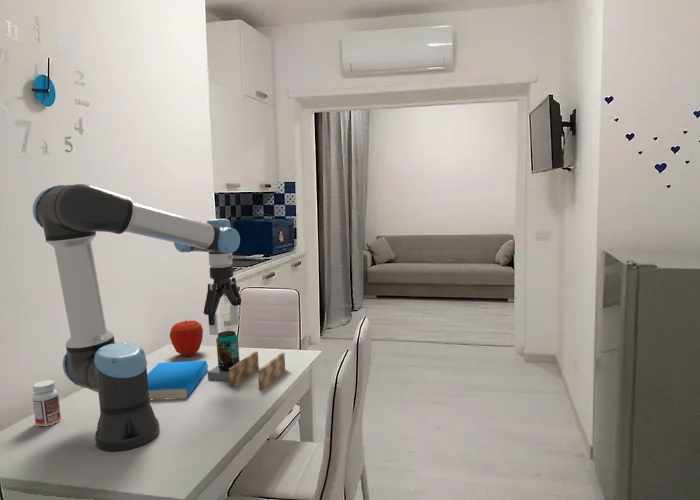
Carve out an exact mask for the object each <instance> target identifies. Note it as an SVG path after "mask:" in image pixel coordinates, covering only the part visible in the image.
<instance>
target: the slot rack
mask: <svg viewBox="0 0 700 500" xmlns="http://www.w3.org/2000/svg"><path fill="white" fill-rule="evenodd" d="M285 357H286V356H285V352H280V353H279V354H278V355H276V356H275V357H274V358H272V359H271V360H270V361H268V362H267V363H266V364H264V365H263V366H262V367H260V365H259V352H258V350H257V351H256V350H255V351H252V352H251V353H250V354H249V355H247V356H246V357H244V358H243V359H241V360H240V362H238V363H237V364H235V365H234V366H232V367H231V368H229V377H230V381H229V385H230V386H229V387H230V388H234V387H236V386H237V385H238V384H239V382H240V383H241V382H242V381H244V380H245V379H246V378H248V377H249V376H250V375H252V374H253V373H254V372H255V371H257V379H258V389H259V390H263V389H264V388H266V387H267V386H268V385H269V384H270V383H272V382H273V381H274V380H275V379H276V378H277V377H279V375H281V374H282V373H283V372H285V371H286V360H285V359H286V358H285ZM236 384H237V385H236ZM235 385H236V386H235Z"/></svg>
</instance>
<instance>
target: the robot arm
mask: <svg viewBox="0 0 700 500" xmlns="http://www.w3.org/2000/svg"><path fill="white" fill-rule="evenodd" d="M32 205H33V206H32V215H33V218H34V220H35V221H36V223H37V224H38V225H39V226H40V227H41V228H42V229H43V233H44V236H45V237H44V238H45V242H46V243H47V244H49V245H50V246H52V247H53V248H54V254H55V258H56V260H55V261H56V264H57V270H58V274H59V275H58V276H59V280H60V281H59V282H60V286H61V290H62V296H63V301H64V307H65V312H66V318H67V323H68V329H69V333H70V337H69V338H68V340H67V341H66V343H65V348H66V353H65V354H64V355H63V357H62V358H63V359H62V369H63V373H64V376H65V377H66V378H67V379H68V380H69V381H70V382H72V383H73V384H74V385H76V386H79V387H81V388H84V389H88V390H90V391H92V392H95V393H98V402H99V412H100V413H99V418H98V422H97V428H96V432H95V435H94V439H95V440H94V441H95V445H96V447H97V448H98V449H99V450H102V451H107V452H119V451H120V452H121V451H126V450H131V449H134V448H135V449H136V448H138V447H141V446H143V445H146V444H148V443H150V442H151V441H153V440H154V439H156V438H157V437H158V436H159V434H160V431H161V430H160V422H159V419H158V418H157V416H156V415H155V412H154V410H153V407H152V405H151V402H150V401H151V400H149V388H148V377H147V374H148V369H147V365H148V361H147V358H146V353H145V350H144V348H142V347H141V346H140V345H139V344H135V343H131V342H127V343H125V342H116V341H115V335H114V333H113V332H111V331H110V330H109V329H107V326H106V320H105V314H104V309H103V303H102V302H103V301H102V298H101V293H100V291H101V290H100V286H99V281H98V274H97V269H96V264H95V256H94V253H93V246H92V241H93V240H94V239H95V238H96V236H97V232H104V233H106V232H107V233H110V234H111V233H112V234H116V235H122V234H123V233H125V232H127V233H129V234H135V235H139V236H144V237H148V238H153V239H157V240H161V241H162V240H163V241H166V242H170V243H171V242H172V243H173V245H174V247H175V249H176V250H177V251H178V252H180V253H191V252H192V253H193V252H201V253H202V252H203V253H208V266H210V267H209V277H210V279H212V280H213V283H207V292H206V296H205V297H206V298H205V301H204V302H205V303H204V308H203V315H205V316H207V319H208V328H209V329H208V331H209V335H212V336H218V333H219V324H218V323H219V322H218V314H217V310H218V307H219V304H220V301H221V298H222V297H223V296H224V295H225V296H226V298H227V300H228V302H229V303H230V305H229V313H230V315H229V316H230V317H229V318H230V325H231V326H234V325H239V324H240V322H239V306H241V305H242V297H241V295H240V291H239V288H238V285H237V282H236V277H234V266H232V265H233V259H234V256H233V253H235V252H236V251H237V250H238V249H239V247H240V243H241V237H240V233H239V231H238V230H237V229H235V228H233V227H231V221H230V220H229V219H228V218H215V219H207V220H206V222H203V221H201V220H200V221H199V220H197V219H193V218H189V217H185V216H181V215H178V214H175V213H171V212H168V211H163V210H160V209H156V208H153V207H149V206H146V205H142V204H139V203H135V202H133V199H131V198H130V197H129V196H125V195H122V194H119V193H116V192H112V191H110V190H107V189H103V188H100V187H97V186H94V185H90V184H85V183H75V184H63V185H62V184H60V185H58V184H57V185H54V186H51V187H48V188H46V189H43V191H41V192H39V194H38V195H37V196H36V197H35V199H34V202H33V204H32Z"/></svg>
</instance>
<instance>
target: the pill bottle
mask: <svg viewBox="0 0 700 500" xmlns="http://www.w3.org/2000/svg"><path fill="white" fill-rule="evenodd" d="M32 388H33V389H32V390H33V391H32V392H33V393H34V394H33V395H32V404H33V412H34V413H33V414H34V421H35V425H36V426H37V427H39V426H45V427H50V426H53V425H56V424H57V423H59V422H60V421H61V419H62V415H61V414H62V413H61V407H60V401H59V392H58V390H57V389H56V386H55V381H54V380H52V379H48V380H42V381H38V382H36V383H34V384H33V385H32ZM55 423H56V424H55ZM49 425H50V426H49Z"/></svg>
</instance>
